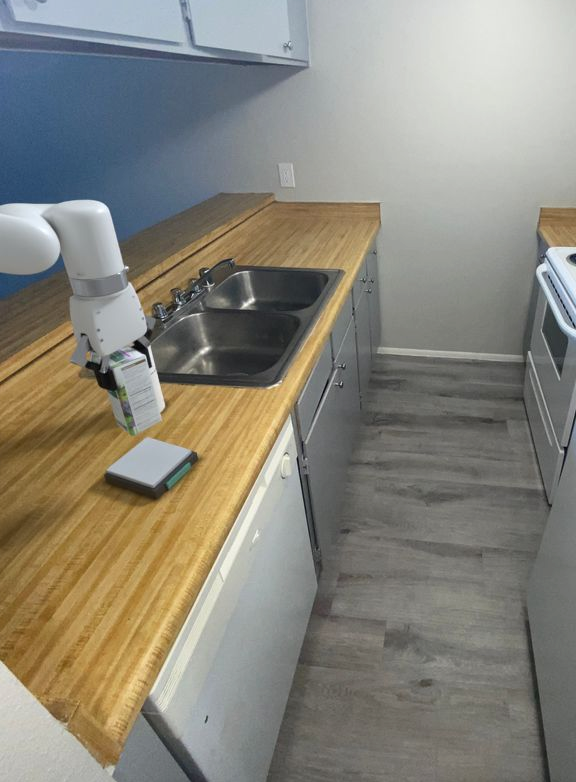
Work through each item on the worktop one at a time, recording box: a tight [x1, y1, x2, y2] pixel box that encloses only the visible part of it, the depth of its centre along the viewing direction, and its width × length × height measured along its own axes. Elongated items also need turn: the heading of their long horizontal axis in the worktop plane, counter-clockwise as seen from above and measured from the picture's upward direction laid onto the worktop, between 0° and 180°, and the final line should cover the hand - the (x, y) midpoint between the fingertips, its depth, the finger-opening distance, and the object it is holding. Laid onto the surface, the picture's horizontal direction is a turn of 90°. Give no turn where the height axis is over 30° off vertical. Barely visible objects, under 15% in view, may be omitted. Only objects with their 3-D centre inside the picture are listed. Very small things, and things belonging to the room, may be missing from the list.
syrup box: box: [98, 346, 163, 437], centre depth 83 cm, size 6×6×14 cm
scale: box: [103, 436, 199, 500], centre depth 92 cm, size 12×11×3 cm
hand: (127, 376), depth 82 cm, fingers closed on syrup box, 6 cm apart
